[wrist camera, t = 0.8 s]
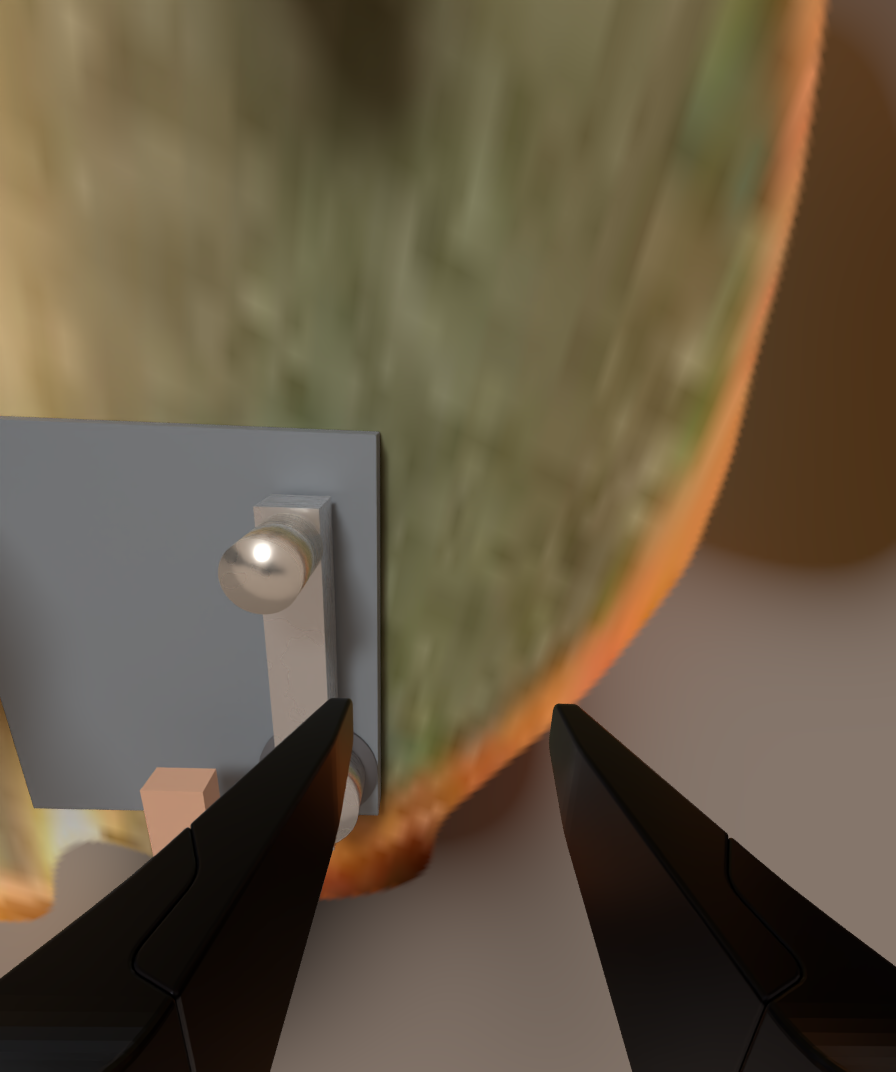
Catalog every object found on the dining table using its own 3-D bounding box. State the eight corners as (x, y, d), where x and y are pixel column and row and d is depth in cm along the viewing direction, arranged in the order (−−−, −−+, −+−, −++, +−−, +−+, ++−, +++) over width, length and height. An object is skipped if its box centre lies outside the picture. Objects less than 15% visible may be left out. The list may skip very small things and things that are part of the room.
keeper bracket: (224, 840, 27) (173, 949, 22) (204, 702, 24) (139, 790, 19) (268, 840, 27) (227, 950, 22) (253, 703, 24) (202, 791, 19)
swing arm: (365, 814, 25) (347, 918, 20) (273, 812, 24) (232, 916, 20) (360, 497, 19) (333, 535, 15) (242, 492, 19) (176, 530, 14)
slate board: (51, 789, 26) (30, 811, 24) (-55, 413, 20) (-91, 415, 18) (381, 796, 26) (377, 818, 25) (379, 431, 20) (375, 435, 19)
